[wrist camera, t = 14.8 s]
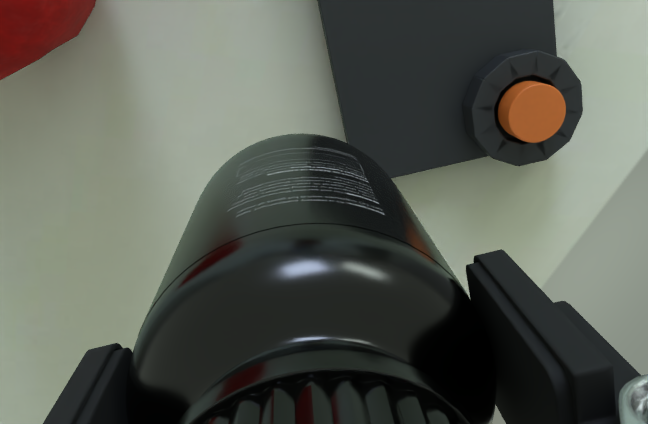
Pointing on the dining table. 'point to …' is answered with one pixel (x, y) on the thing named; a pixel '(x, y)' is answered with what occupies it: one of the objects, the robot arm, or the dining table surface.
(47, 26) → the apple
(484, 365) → the supplement bottle
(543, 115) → the button
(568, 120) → the scale
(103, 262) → the dining table surface
